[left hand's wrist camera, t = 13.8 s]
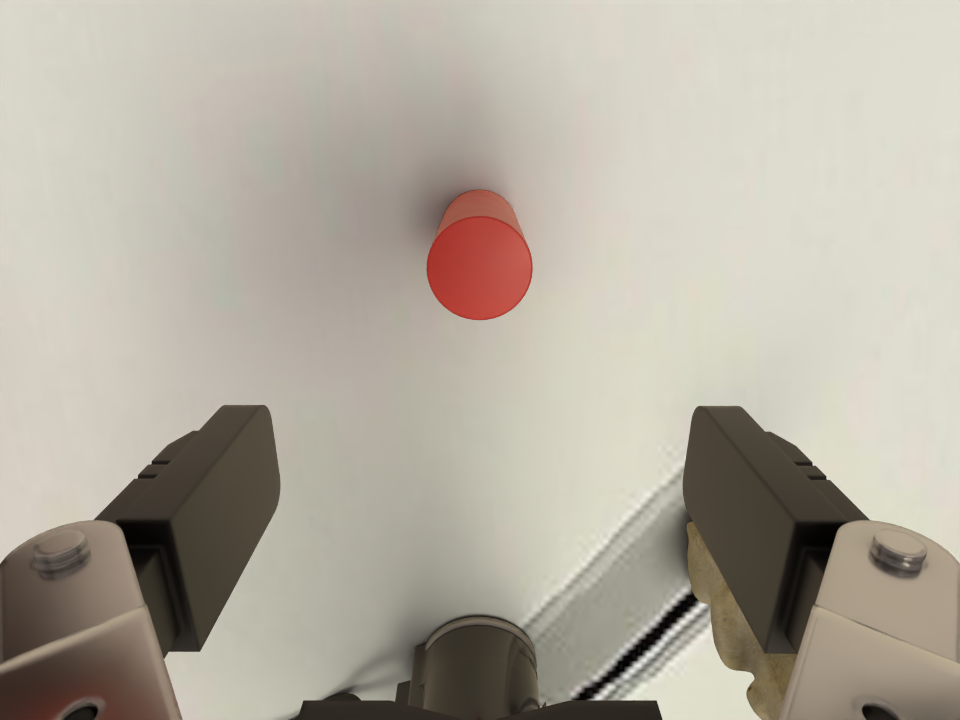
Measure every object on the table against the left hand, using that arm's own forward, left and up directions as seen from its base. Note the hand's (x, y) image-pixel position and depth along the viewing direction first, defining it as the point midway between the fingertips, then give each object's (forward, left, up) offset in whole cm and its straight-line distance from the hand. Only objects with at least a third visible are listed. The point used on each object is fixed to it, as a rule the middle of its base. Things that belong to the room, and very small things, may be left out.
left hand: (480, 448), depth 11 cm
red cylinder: (0, 0, -27) cm, 27 cm away
